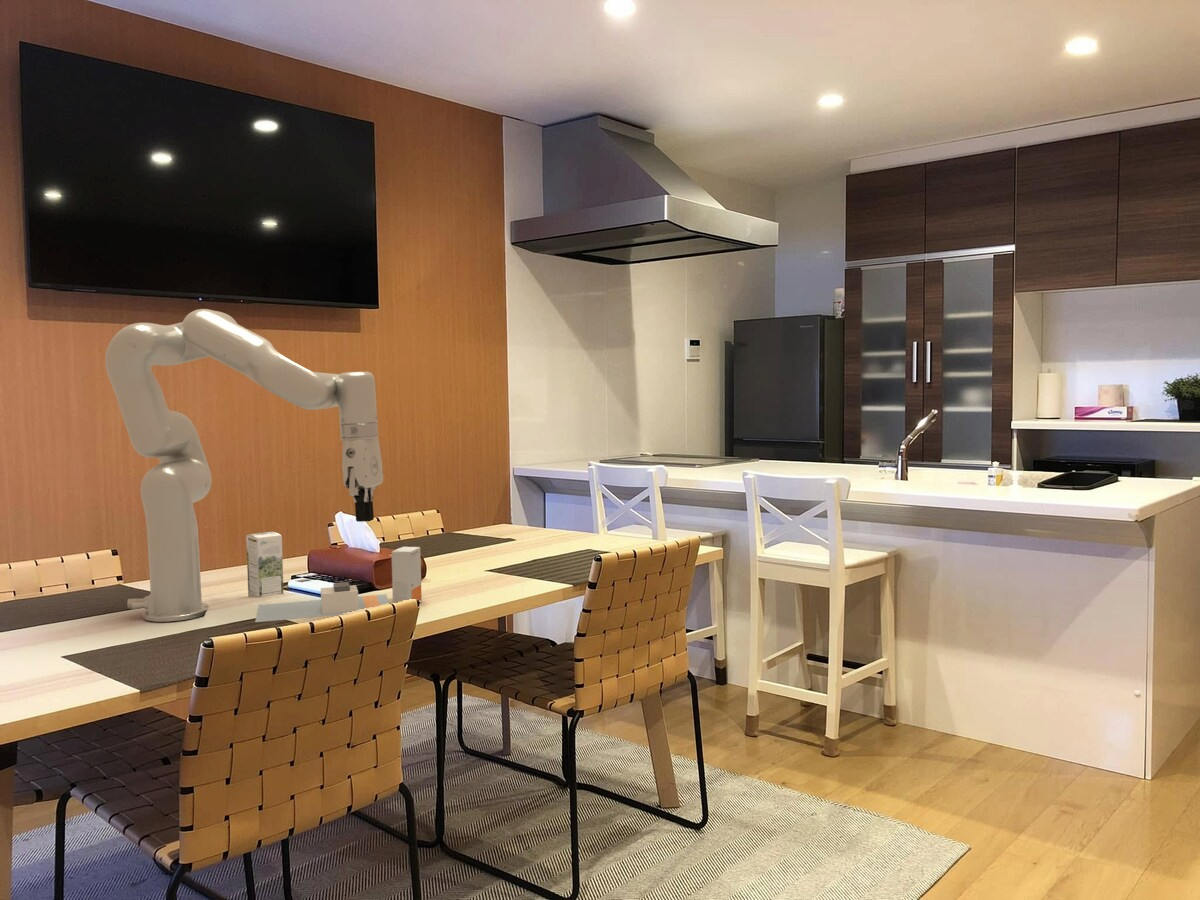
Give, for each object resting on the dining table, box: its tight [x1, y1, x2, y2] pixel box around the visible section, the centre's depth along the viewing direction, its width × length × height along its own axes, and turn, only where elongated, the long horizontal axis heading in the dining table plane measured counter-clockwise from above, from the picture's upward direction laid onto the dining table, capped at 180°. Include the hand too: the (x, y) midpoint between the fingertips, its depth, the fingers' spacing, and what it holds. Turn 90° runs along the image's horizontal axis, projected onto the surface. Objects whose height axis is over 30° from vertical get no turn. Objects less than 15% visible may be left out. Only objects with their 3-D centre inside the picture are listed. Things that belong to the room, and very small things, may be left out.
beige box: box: [320, 581, 359, 614], centre depth 188 cm, size 7×6×5 cm
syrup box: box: [245, 531, 285, 598], centre depth 204 cm, size 6×6×14 cm
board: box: [254, 593, 390, 623], centre depth 190 cm, size 26×15×1 cm, turn 108°
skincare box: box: [391, 546, 423, 603], centre depth 196 cm, size 6×4×12 cm
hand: (364, 520), depth 190 cm, fingers closed
